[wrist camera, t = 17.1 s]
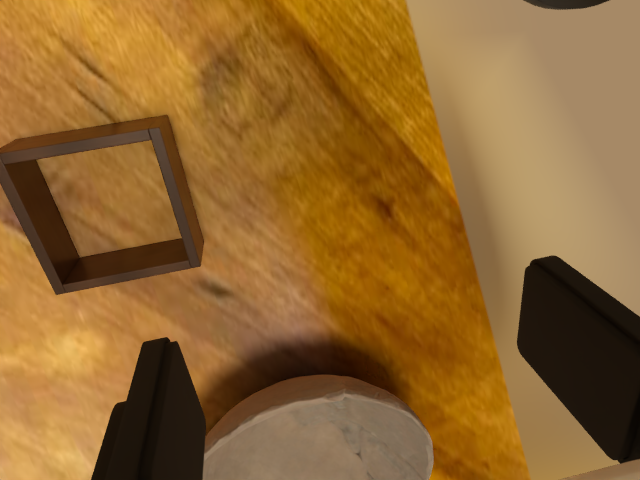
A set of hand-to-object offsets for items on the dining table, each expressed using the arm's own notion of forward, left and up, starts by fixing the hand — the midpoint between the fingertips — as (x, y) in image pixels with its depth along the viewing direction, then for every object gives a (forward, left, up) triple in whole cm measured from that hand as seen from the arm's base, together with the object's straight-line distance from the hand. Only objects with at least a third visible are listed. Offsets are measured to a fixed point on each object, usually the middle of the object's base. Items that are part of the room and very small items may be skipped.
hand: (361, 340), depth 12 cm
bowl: (+3, +35, -28) cm, 45 cm away
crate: (+14, +4, -28) cm, 32 cm away
